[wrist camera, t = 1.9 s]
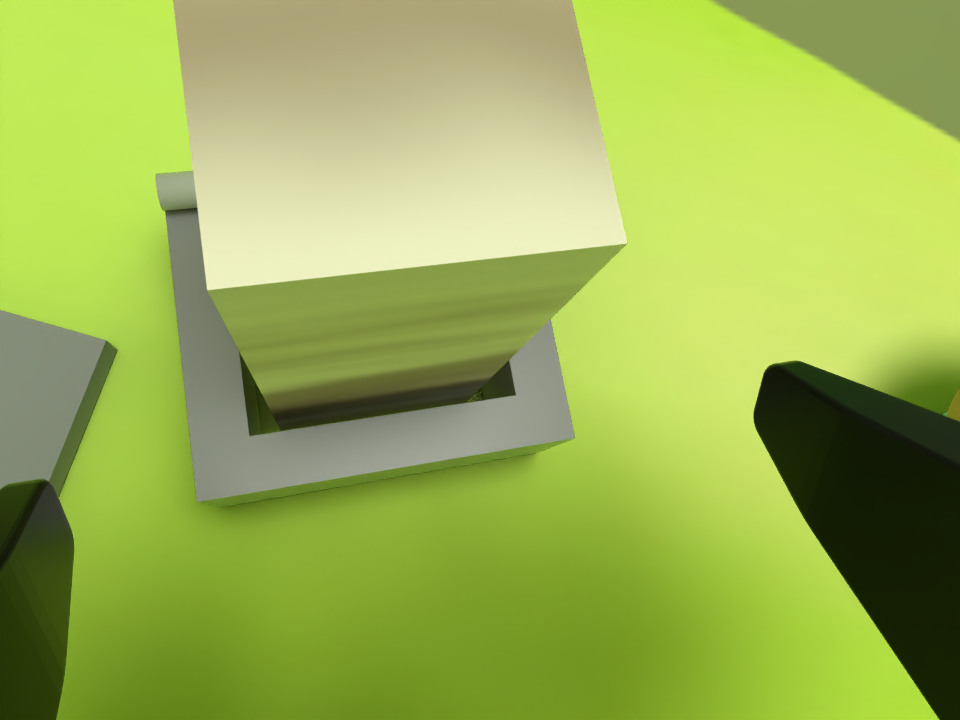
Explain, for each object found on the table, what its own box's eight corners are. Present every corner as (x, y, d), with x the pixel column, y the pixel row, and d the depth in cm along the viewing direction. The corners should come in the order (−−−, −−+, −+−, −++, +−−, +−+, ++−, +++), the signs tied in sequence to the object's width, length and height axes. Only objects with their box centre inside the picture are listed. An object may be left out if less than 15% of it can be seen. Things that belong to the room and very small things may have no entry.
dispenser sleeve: (536, 452, 21) (585, 434, 17) (220, 507, 19) (190, 500, 15) (488, 205, 22) (523, 131, 18) (189, 233, 20) (153, 158, 16)
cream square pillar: (465, 402, 21) (627, 243, 9) (281, 430, 20) (208, 289, 8) (441, 266, 22) (563, -37, 10) (262, 286, 21) (170, -27, 9)
